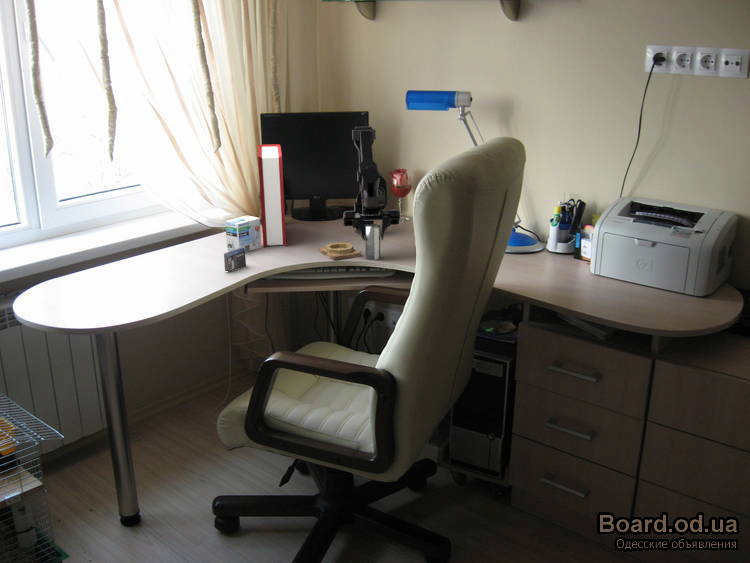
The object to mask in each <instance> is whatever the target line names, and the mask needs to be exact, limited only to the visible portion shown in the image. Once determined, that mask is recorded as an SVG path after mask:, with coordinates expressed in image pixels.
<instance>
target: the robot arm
mask: <svg viewBox="0 0 750 563" xmlns="http://www.w3.org/2000/svg"><path fill="white" fill-rule="evenodd" d="M354 128H355V129H352V131H351V136H352V141H353V143H354V146H355V148H356V149H357V151H358V170H357V171H356V175H357V176H356V177H357V178H356V180H357V182H359V191H358V194H357V196H356V199H355V201H354V206H353V210H345V211H344V212H343V218H342V221H343V226H344V227H352V228H353V229H355V230H354V232H355V233H356V234H359V235H360V236H361V237H360V238H362V240H363V242H365V225H368V224H375V221H381V222H382V223H381V229H380V241H384V237H385V236H384V235H385V234H386V231H387V229H388V228H390V227H391V226H394V225H395V226H396V225H399V224H400V218H401V212H400V210H399V209H387V213H384V214H383V213H381V206H385V205H386V195H385V194H379V185H380V181H381V180H382V179H383V174H382V173H381V172H380V170H378V164H377V163H376V161H374V154H373V145H374V141H375V140H376V138H377V137H376V132H377V131H376V129H373V127H372V126H370V125H369V126H368V125H367V126H355V127H354Z"/></svg>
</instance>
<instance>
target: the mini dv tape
mask: <svg viewBox="0 0 750 563" xmlns="http://www.w3.org/2000/svg"><path fill="white" fill-rule="evenodd" d="M223 259H224V261H223V262H224V271H228V272H227V273H231V272H233V271H232V270H234V271H236V270H235V269H237V270H239V269H241V267H242V268H244V267H246V266H247V264H246V263H247V262H246V261H247V260H246V259H247V258H246V252H245V249H244V248H238V249H236V250H233V251H227V252H225V253H223ZM238 268H239V269H238ZM230 271H231V272H230Z"/></svg>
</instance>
